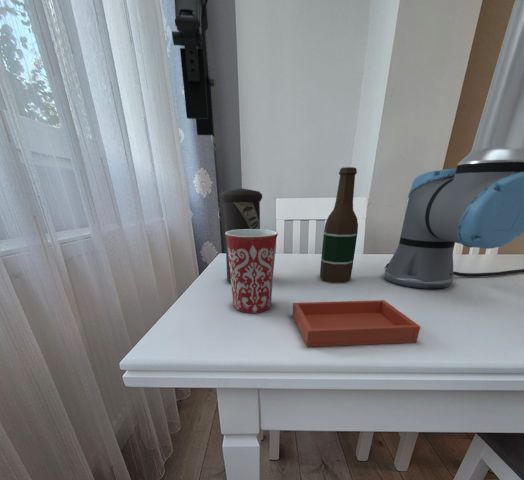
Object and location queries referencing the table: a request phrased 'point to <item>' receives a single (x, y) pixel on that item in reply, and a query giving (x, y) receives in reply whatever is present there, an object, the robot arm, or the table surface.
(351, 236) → the beer bottle
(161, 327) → the table surface
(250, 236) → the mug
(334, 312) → the red tray
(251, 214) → the container
